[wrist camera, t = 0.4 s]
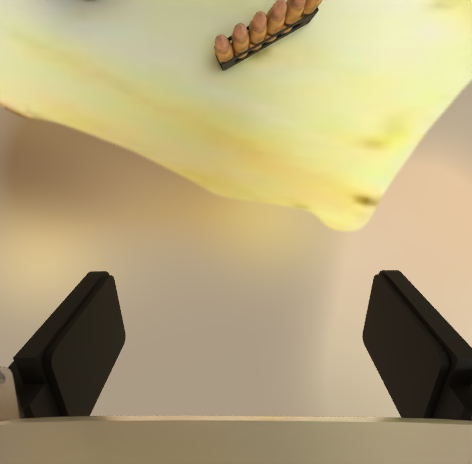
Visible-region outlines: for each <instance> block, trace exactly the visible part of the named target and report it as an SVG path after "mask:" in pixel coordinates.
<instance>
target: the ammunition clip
mask: <svg viewBox="0 0 472 464" xmlns="http://www.w3.org/2000/svg"><path fill="white" fill-rule="evenodd" d="M321 2H322V0H287V2H285V0H277V1H276V2H275V4H274V5H273V7H272V8H271V9H270V10H269V12H268V14H267V15H265V13H264V12H262V11H259V12H257V13H256V14H255V15H254V17H253V19H252V21H251V22H250V25H249V26H248V27H246V26H245V25H244V24H242V23H239V24H237V25H236V26H235V28H234V32H233V34H232V36H231V37H229V38H226V37H225V36H224V35H219V36H217V37H216V40H215V46H214V48H215V53H216V57H217V59H218V61H219V63H220V66H221V68H222V70H226V69H228V68H230V67H232V66H233V65H235V64H237V63H239V62H240V61H242V60H244V59H246V58H247V57H249V56H251V55H253V54H254V53H256V52H258V51H260V50H262V49H263V48H265V47H267V46H269V45H270V44H272V43H274V42H276V41H277V40H279V39H281V38H283V37H285V36H286V35H288V34H290V33H292V32H293V31H295V30H297V29H299V28H300V27H302V26H304V25H306V24H307V23H309V22H310V21H311V19H312V18H313V17H314V16H315V14H316V13H317V12H318V5H319V4H320V3H321ZM247 30H249V31H248V32H247ZM230 40H232V43H231V42H230Z"/></svg>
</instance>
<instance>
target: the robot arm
mask: <svg viewBox="0 0 472 464" xmlns="http://www.w3.org/2000/svg"><path fill="white" fill-rule="evenodd" d="M124 342H125V330H124V325H123V320H122V315H121V310H120V305H119V300H118V296H117V290H116V285H115V280H114V277H113V276H112V275H109V273H108V272H106V271H102V272H89V273H88V274H87V275H86V276H85V277H84V278H83V279H82V281H81V282H80V283H79V284H78V285H77V286H76V287H75V288H74V290H73V291H72V292H71V293H70V294H69V295H68V296H67V298H66V299H65V300H64V301H63V302H62V303H61V304H60V306H59V307H58V308H57V309H56V310H55V311H54V312H53V313H52V314H51V316H50V317H49V318H48V319H47V320H46V321H45V323H44V324H43V325H42V326H41V327H40V328H39V329H38V330H37V331H36V333H35V334H34V335H33V336H32V337H31V338H30V339H29V341H28V342H27V343H26V344H25V345H24V346H23V347H22V349H21V350H20V351H19V352H18V353H17V354H16V355H15V356H14V357H13V359H14V361H13V363H12V364H11V365H10V366H9V367H8V368H6V367H0V464H472V348H471V347H470V346H469V345H468V343H467V342H466V341H465V340H464V339H463V338H462V337H461V336H460V335H459V334H458V333H457V332H456V331H455V330H454V329H453V327H452V326H451V325H450V324H449V323H448V322H447V321H446V320H445V319H444V318H443V317H442V316H441V315H440V313H439V312H438V311H437V310H436V309H435V308H434V307H433V306H432V305H431V304H430V303H429V302H428V301H427V300H426V298H425V297H424V296H423V295H422V294H421V293H420V292H419V291H418V290H417V289H416V288H415V287H414V286H413V285H412V284H411V282H410V281H408V279H407V278H406V277H405V276H404V275H403V274H402V273H401V272H400V271H398V270H387V271H386V270H382V271H380V273H379V275H375V276H374V279H373V284H372V289H371V295H370V300H369V304H368V310H367V315H366V320H365V325H364V330H363V342H364V345H365V347H366V349H367V351H368V353H369V355H370V356H371V359H372V360H373V362H374V364H375V366H376V368H377V370H378V372H379V374H380V376H381V378H382V380H383V382H384V384H385V386H386V388H387V390H388V392H389V394H390V396H391V398H392V399H393V402H394V404H395V406H396V408H397V410H398V412H399V414H400V416H401V418H390V417H310V416H309V417H308V416H90V414H91V412H92V410H93V408H94V406H95V403H96V401H97V399H98V397H99V395H100V393H101V391H102V389H103V387H104V385H105V383H106V381H107V378H108V376H109V374H110V372H111V370H112V368H113V366H114V364H115V362H116V359H117V358H118V356H119V353H120V351H121V349H122V347H123V345H124Z"/></svg>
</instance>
